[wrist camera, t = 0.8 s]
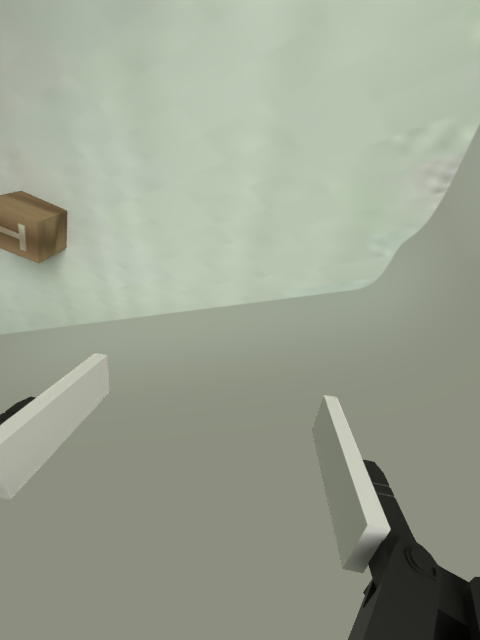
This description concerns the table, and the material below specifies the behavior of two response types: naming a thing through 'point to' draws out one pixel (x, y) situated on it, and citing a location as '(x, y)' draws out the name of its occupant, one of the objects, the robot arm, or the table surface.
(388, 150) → the table surface
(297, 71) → the table surface
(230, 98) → the table surface
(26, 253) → the letter block
